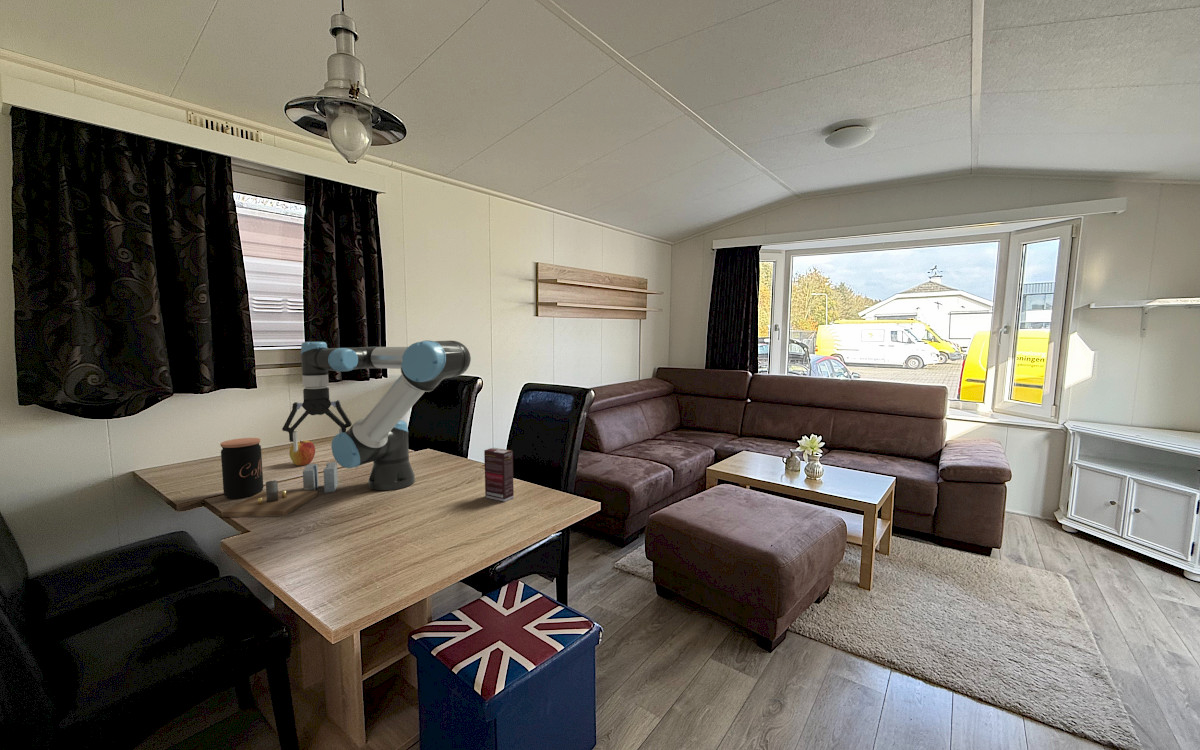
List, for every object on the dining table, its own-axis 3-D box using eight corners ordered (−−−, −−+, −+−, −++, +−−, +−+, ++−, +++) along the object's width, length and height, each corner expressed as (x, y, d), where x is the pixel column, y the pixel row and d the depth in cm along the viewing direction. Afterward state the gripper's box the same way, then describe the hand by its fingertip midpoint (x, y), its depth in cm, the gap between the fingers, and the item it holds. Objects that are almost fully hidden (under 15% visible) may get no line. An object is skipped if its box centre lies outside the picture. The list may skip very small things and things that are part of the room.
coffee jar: (242, 500, 153) (239, 445, 151) (215, 498, 155) (211, 444, 153) (271, 490, 163) (268, 438, 162) (245, 488, 165) (242, 437, 164)
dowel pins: (285, 496, 153) (284, 490, 152) (287, 496, 152) (287, 490, 152) (257, 504, 145) (256, 498, 145) (259, 505, 145) (259, 498, 145)
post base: (318, 495, 158) (316, 473, 158) (285, 515, 140) (283, 491, 140) (262, 495, 157) (260, 473, 157) (221, 516, 139) (219, 491, 139)
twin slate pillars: (337, 483, 170) (336, 461, 169) (334, 491, 162) (333, 468, 161) (308, 487, 167) (307, 464, 166) (303, 495, 158) (302, 471, 158)
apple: (306, 467, 190) (305, 443, 189) (284, 467, 190) (282, 443, 189) (320, 461, 199) (319, 438, 198) (299, 461, 199) (297, 438, 199)
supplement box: (514, 497, 156) (513, 450, 155) (504, 502, 152) (503, 453, 151) (494, 493, 160) (493, 447, 159) (484, 497, 156) (483, 450, 155)
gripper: (358, 384, 169) (360, 443, 171) (274, 387, 160) (278, 450, 161) (356, 387, 162) (359, 448, 164) (269, 390, 153) (273, 455, 155)
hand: (319, 449), depth 163 cm, fingers open, 13 cm apart
